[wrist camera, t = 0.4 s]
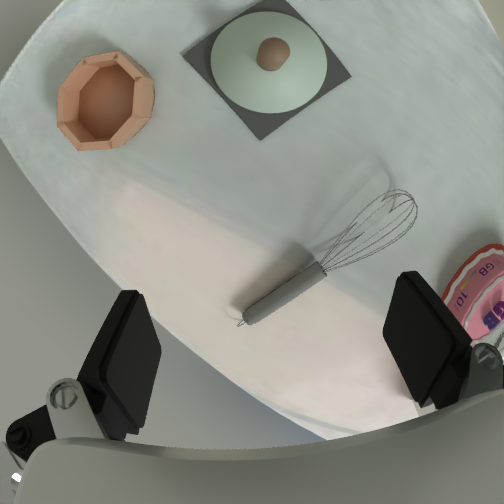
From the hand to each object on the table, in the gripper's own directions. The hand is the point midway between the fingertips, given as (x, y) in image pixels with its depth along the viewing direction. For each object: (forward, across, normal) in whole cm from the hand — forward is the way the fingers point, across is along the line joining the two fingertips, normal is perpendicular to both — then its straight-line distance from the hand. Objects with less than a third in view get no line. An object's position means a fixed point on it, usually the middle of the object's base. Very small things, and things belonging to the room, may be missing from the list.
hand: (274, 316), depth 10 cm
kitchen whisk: (+29, -10, +14) cm, 34 cm away
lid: (+28, -3, -14) cm, 31 cm away
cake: (+29, -50, +26) cm, 63 cm away
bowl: (+28, +18, -11) cm, 35 cm away
